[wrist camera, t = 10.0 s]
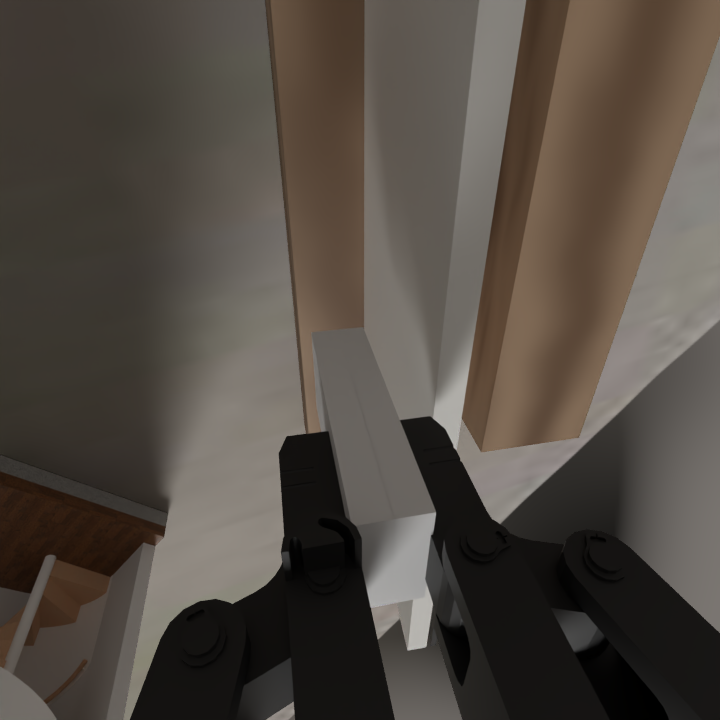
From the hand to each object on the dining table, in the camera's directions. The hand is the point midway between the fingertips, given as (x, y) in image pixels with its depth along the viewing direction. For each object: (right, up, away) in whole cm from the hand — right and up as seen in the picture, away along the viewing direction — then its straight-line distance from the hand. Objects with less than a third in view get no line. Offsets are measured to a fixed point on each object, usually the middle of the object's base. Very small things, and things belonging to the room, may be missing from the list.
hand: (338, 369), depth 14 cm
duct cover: (+3, +2, +3) cm, 4 cm away
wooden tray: (+6, +8, +12) cm, 16 cm away
